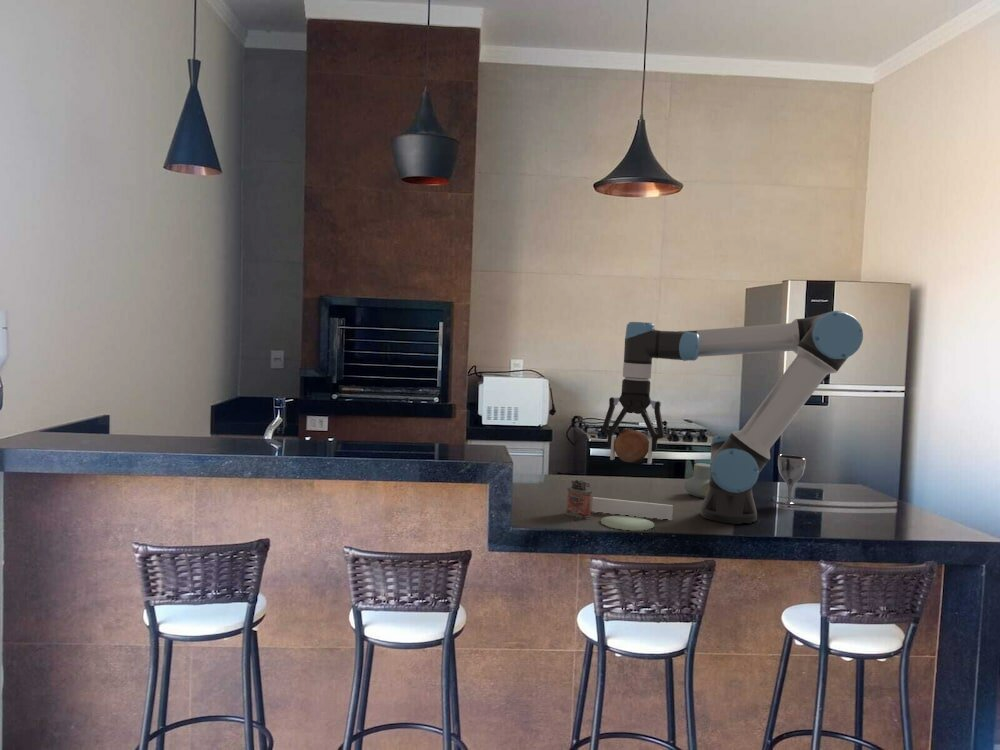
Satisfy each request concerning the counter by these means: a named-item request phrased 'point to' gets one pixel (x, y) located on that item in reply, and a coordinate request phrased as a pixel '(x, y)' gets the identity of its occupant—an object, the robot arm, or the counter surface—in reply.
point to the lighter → (579, 499)
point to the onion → (631, 446)
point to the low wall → (632, 508)
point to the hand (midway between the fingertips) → (630, 461)
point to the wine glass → (791, 470)
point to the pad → (627, 523)
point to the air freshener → (699, 480)
